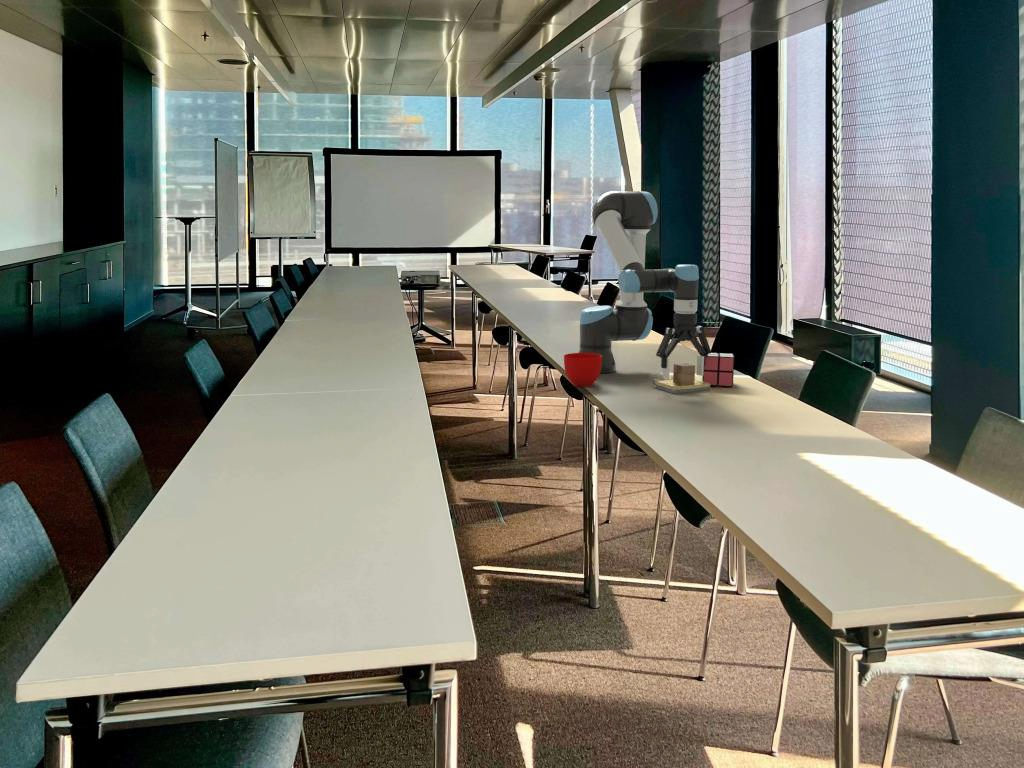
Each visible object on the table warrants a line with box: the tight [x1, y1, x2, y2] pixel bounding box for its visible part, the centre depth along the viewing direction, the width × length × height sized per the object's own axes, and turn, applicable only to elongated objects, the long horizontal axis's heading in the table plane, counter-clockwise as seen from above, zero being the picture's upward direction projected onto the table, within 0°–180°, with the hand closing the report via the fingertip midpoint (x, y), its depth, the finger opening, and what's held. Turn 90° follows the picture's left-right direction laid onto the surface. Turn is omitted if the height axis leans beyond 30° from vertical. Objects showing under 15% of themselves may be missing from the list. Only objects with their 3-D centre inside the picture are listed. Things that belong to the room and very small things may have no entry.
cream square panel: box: [656, 377, 711, 390], centre depth 318 cm, size 14×13×2 cm
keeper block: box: [672, 362, 696, 384], centre depth 316 cm, size 5×5×6 cm
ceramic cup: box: [563, 352, 602, 388], centre depth 326 cm, size 13×17×10 cm
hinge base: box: [651, 377, 711, 395], centre depth 319 cm, size 14×13×3 cm
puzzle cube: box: [701, 352, 735, 387], centre depth 325 cm, size 10×10×10 cm
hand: (683, 376), depth 317 cm, fingers open, 13 cm apart
